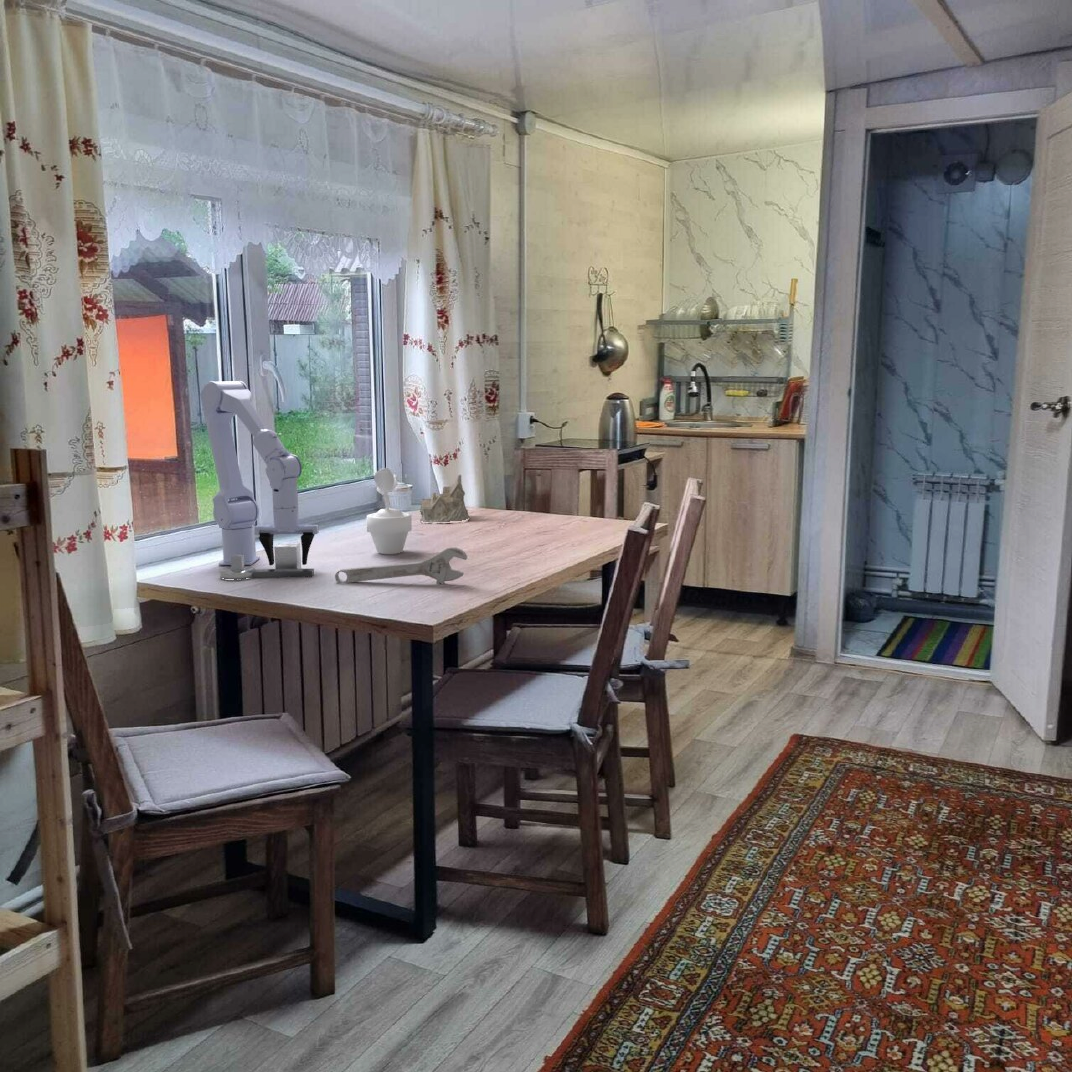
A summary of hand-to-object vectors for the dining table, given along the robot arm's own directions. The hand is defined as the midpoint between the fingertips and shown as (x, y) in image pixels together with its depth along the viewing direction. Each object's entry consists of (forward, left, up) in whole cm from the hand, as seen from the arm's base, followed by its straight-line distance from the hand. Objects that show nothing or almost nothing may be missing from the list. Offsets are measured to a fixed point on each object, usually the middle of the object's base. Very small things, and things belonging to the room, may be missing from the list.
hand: (288, 564), depth 239 cm
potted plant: (-22, +22, -2) cm, 31 cm away
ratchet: (+7, -4, -2) cm, 8 cm away
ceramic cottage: (-76, +34, -2) cm, 83 cm away
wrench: (+16, +28, -2) cm, 32 cm away
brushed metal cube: (0, 0, -1) cm, 1 cm away
